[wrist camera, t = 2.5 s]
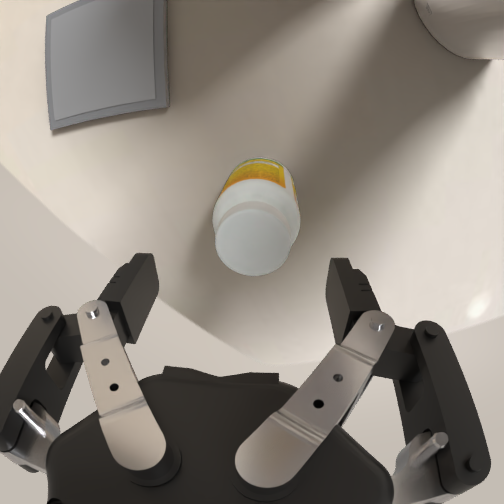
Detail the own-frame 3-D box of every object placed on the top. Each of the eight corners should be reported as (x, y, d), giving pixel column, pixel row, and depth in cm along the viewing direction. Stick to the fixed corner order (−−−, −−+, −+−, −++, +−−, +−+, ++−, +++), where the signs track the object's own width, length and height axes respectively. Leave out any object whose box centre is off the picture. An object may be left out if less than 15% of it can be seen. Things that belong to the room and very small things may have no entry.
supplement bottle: (307, 192, 24) (325, 254, 15) (256, 229, 26) (248, 302, 17) (265, 141, 22) (260, 175, 14) (214, 183, 24) (181, 238, 16)
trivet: (167, -24, 14) (163, -28, 14) (169, 106, 21) (165, 107, 20) (51, 16, 15) (45, 15, 14) (55, 128, 21) (50, 130, 21)
